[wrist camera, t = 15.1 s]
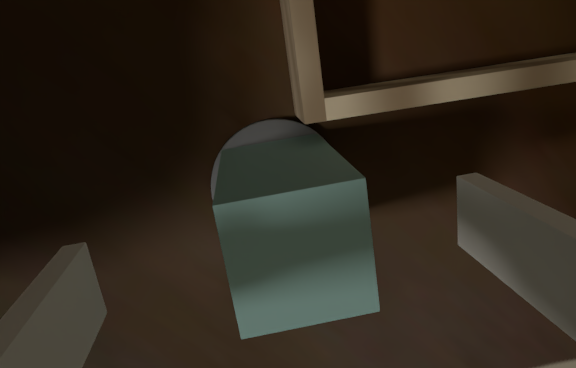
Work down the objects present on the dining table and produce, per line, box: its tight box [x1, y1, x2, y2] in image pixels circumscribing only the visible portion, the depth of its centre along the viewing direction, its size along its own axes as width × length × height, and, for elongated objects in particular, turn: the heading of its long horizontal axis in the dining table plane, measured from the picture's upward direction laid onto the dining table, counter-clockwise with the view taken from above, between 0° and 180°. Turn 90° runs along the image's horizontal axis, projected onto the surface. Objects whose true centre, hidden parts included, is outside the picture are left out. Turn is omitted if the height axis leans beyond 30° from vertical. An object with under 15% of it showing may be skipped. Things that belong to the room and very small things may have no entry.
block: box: [212, 134, 380, 339], centre depth 19 cm, size 5×5×9 cm
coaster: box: [211, 119, 327, 199], centre depth 24 cm, size 7×7×1 cm
